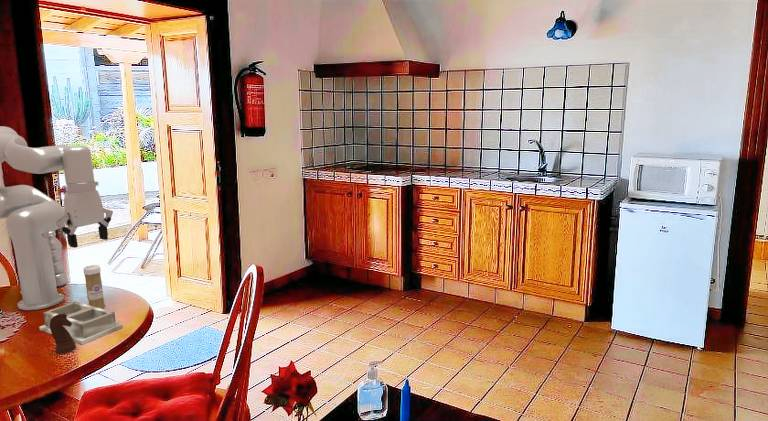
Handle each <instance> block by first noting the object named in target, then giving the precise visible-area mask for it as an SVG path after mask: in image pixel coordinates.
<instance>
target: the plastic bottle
mask: <svg viewBox="0 0 768 421" xmlns="http://www.w3.org/2000/svg"><path fill="white" fill-rule="evenodd" d="M42 236H43V238H44V239H45V240H46V241H47V242H48V244H49V246H50V249H51V254H52V260H53V267H54V273H55V280H56V287H61V286H62V287H63V286H65V285H66V284H67V282H68V275H67V272H66V271H65V267H64V262H63V244H62V242H61V241H60V240H59V239H58V238H57V237H56V236H57V234H56V230H54V231H51V232H48V233H45V234H42Z"/></svg>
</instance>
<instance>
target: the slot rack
mask: <svg viewBox="0 0 768 421" xmlns="http://www.w3.org/2000/svg"><path fill="white" fill-rule="evenodd" d="M63 313H65V314H66V315H67V317H66V318H67V319H68V320H69V321H70V322H72V325H71V326H70V327H69V326H63V325H62V326H63V327H64V328H65V329H66V330H67V331H68V332H69V333H70V335H71V337H72V338H73V341H74V342H75V344H79V345H84V344H87V343H89V342H91V341H95V340H97V339H98V338H99V339H100V338H102V337H103V336H106V335H109V334H111V333H113V332H115V331H118V330H120V329H122V328H123V324H121V323H118V322H116V312H114V311H111V310H107V309H103V308H97V307H94V306H90V305H89V304H86V303H83V302H79V301H73V302H70V303H67V304H64V305H62V306H59V307H56V308H53V309H50V310H47V311H44V312H43V317H44V318H43V319H44V324H43V325H41V326H39V327H38V328H39V331H41V332H45V333H48V334H49V335H52V333H51V330H50V321H51V319H52V318H53V317H54V316H56V315H58V314H63Z"/></svg>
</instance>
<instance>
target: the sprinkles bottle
mask: <svg viewBox="0 0 768 421" xmlns="http://www.w3.org/2000/svg"><path fill="white" fill-rule="evenodd" d="M83 275H84V279H85V280H84V281H85V288H86V294H87V296H86V297H87V301H88V305H90V306H94V307H97V308H101V309H103V308H105V305H106V304H105V300H104V290H103V282H102V275H101V266H100V265H99V264H92V265H88V266H85V267H83Z"/></svg>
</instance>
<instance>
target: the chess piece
mask: <svg viewBox="0 0 768 421" xmlns="http://www.w3.org/2000/svg"><path fill="white" fill-rule="evenodd" d="M66 317H67V315H66V314H65V313H63V314H58V315H56V316H54V317H53V318H52V319H51V321H50V330H51V333H52V334H51V335H52V337H53V339H54V341H55V343H56V344H55V352H56V354H59V355H63V354H68V353H71V352H73V351H75V350H76V348H77V345H76V342H74V341H73V338H72V337H71V335H70V333H69V332H68V331H67V330H66V329H65V328H64V327H63V326H69V327H70V326H71V325H72V322H70V321H69V320H68V319H67V318H66ZM62 325H63V326H62Z"/></svg>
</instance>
